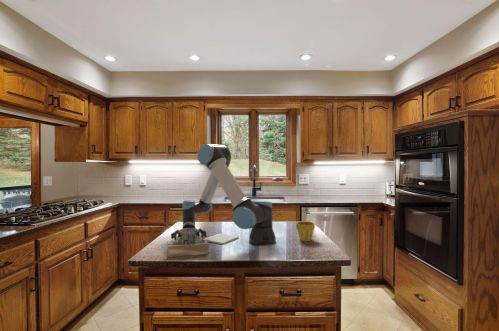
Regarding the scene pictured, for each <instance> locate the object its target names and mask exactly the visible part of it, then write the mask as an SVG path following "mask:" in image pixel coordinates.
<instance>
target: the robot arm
mask: <svg viewBox="0 0 499 331" xmlns="http://www.w3.org/2000/svg"><path fill="white" fill-rule="evenodd" d="M197 152H198V153H197V159H198V162H199V163H200V164H202V165H205V166H206V168H207V170H208V171H210V174H209V177H208V179H207V182H206V184H205V187H204V189H203V191H202V193H201V196H200V199H199V201H195V200H194V199H186V200H183V201H182V227H181V229H184V228H196V215H199V214H205V213H207V212H210V211H211V210H212V209H213V204H212V201H213V199H214V197H215V194H216V192H217V190H218V188H219V185H220V186H221V188H222V190H223V192H224V193H225V195H226V197H227V198H228V200H229V201H230V203H231V205H232V208H231V210H232V212H233V213H232V220H233V222H234V224H235V226H236V227H237V228H238V229H242V230H248V229H251V231H250V234H249V238H248V239H249V241H248V242H249V243H250V244H252V245H256V246H257V245H259V246H260V245H261V246H267V245H273V244H275V243H276V241H277V239H276V237H277V236H276V233H275V231H274V227H273V204H272V202H271V201H267V200H265V201H264V200H252V198H249V197H247V196H246V194H245V193H244V191H243V189H242V188H241V187H240V185H239V183H238V182H237V180H236V178H235V177H234V175H233V173H232V172H231V170H230V168H229V166H230V165H231V160H232V154H231V150H230V148H229V147H228V146H226V145H224V144H213V143H204V144H203V145H201V146H200V147H199V149H198V151H197ZM197 229H198V230H197V233H196V236H197V237H199V242H201V241H202V239H204V237H205V238H207V231H206V230H203V229H202V228H197ZM179 230H180V229H176V230H175V231H174V232H172V233H171V234H170V238H171V240H174V241H175V242H176V243H178V242H179V238H182V237H181V234H180V232H179Z"/></svg>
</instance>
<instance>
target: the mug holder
mask: <svg viewBox="0 0 499 331" xmlns="http://www.w3.org/2000/svg"><path fill="white" fill-rule="evenodd" d="M167 248H168V251H167V252H168V253H167V254H168V258H172V257H185V256H196V255H208V254H210V242H207V241H204V243H203V242H202V243H196V244H187V245H182V244H175V245H174V243H173V242H170V245H168V246H167Z"/></svg>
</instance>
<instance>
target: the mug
mask: <svg viewBox="0 0 499 331" xmlns="http://www.w3.org/2000/svg"><path fill="white" fill-rule="evenodd" d="M198 229H199V228H196V227H195V228H184V229H182V228H181V229H178V230H179V232H180V234H181V237H180V238H181V245H187V244H197V243H196V233H197V230H198Z"/></svg>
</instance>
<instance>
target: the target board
mask: <svg viewBox="0 0 499 331" xmlns="http://www.w3.org/2000/svg"><path fill="white" fill-rule="evenodd" d="M238 239H240V238H239V236H237V235H232V234H231V235H230V234H225V233H216V234H214V235H212V236H208V237H205V238H202V242H205V241H207V243H212V244H219V245H222V246H223V245H226V244H228V243H231V242H233V241H236V240H238Z"/></svg>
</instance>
